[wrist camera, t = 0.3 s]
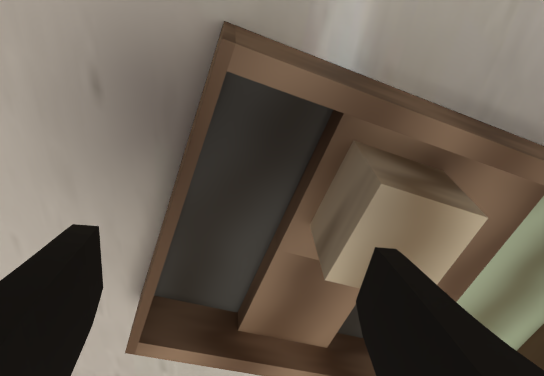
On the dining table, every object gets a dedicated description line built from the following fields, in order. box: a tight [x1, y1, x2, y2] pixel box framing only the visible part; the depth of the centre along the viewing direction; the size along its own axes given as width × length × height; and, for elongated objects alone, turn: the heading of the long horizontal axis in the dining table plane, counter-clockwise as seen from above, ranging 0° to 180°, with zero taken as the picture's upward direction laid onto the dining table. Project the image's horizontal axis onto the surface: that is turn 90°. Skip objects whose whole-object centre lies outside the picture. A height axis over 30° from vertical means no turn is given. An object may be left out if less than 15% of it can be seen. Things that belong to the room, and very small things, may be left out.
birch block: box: [310, 140, 488, 288], centre depth 18 cm, size 5×5×4 cm
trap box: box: [125, 21, 544, 376], centre depth 22 cm, size 26×17×4 cm, turn 69°
